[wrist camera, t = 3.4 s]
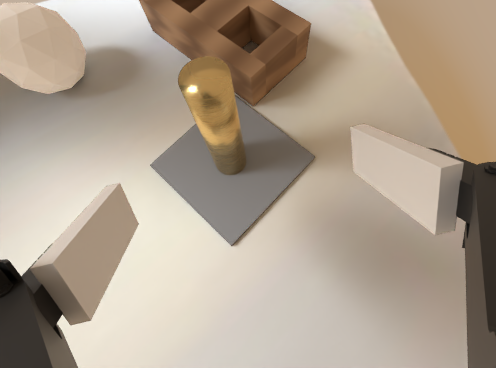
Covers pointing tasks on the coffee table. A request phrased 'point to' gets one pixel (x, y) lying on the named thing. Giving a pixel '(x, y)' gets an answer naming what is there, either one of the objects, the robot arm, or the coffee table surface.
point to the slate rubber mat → (234, 186)
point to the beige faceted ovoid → (39, 48)
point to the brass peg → (215, 111)
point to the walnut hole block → (235, 37)
